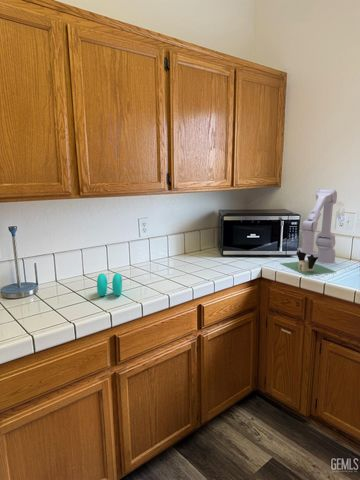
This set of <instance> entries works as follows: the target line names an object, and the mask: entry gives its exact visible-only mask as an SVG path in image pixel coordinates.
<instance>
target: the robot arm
mask: <svg viewBox="0 0 360 480" xmlns="http://www.w3.org/2000/svg"><path fill="white" fill-rule="evenodd" d="M315 199H316V201H315V204H314V207H313V209H311V210H309V213H308V215H307V217H306V218H305V220H303V221H302V224H301V234H302V242H301V243H302V244H301V247H297V250H296V251H297V252H296V256H297V258H298V262H299V261H304V260H305V259H307V260H308V263H309V264H308V267H309V269H313V266H314V264H316V262H317V263H320V264H322V265H323V264H336V263H337V262H336V250H335V245H336V235H335V234H334V233H332V232H331V229H332V219H333V209H334V205H335V204H337V200H338V192H337V189H325V188H324V189H322V188H321V189H320V188H318V189H317V190H316V193H315ZM322 209H323V210H322ZM321 211H323V212H322V215H321ZM321 216H322V219H321V220H322V221H321V222H322V223H321V231H320V232H318V233H317V234H316V238H315V232H316V231H317V229H318V225H319V224H318V221H319V219H320V217H321ZM314 243H315V246H316V247H317V252H316V251H315V250H314Z"/></svg>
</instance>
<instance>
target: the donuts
mask: <svg viewBox="0 0 360 480" xmlns="http://www.w3.org/2000/svg"><path fill="white" fill-rule="evenodd" d="M111 286H112V292H113V295H114V296H118V297H119V296H120V295H121V294H122V292H123V291H122V290H123V278H122V274H121V273H119V272H117V273H115V274H114V275H113V277H112V285H111ZM96 291H97V294H98V296H99V297H104V296H105V295H106V294H107V291H108V278H107V276H106V275H105V273H99V274H98V275H97V280H96Z"/></svg>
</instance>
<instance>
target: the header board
mask: <svg viewBox="0 0 360 480" xmlns="http://www.w3.org/2000/svg"><path fill="white" fill-rule="evenodd" d="M279 265H282V266H283V267H286V268H287V269H288V268H289V269H290V270H293V271H295V272H297V273H300V274H301V275H303V276H307V277H308V276H313V275H316V276H317V275H322V276H323V274H325V275H326V274H330V275H333V274H335V273H337V271H335V270H333V269H330V268H327V267H326V266H322V265H320V264H317V263H315V264H314V271H306V272H302V266H301V270H298V265H299V261H293V262H291V261H290V262H281V263H279ZM332 273H333V274H332Z"/></svg>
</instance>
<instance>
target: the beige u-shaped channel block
mask: <svg viewBox="0 0 360 480" xmlns="http://www.w3.org/2000/svg"><path fill="white" fill-rule="evenodd" d="M298 262H299V265H298V270H301V266H302V272H306V271H314V266H313V269H309V267H308V264H309V263H308V259H306V260H304V261H299V260H298Z"/></svg>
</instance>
